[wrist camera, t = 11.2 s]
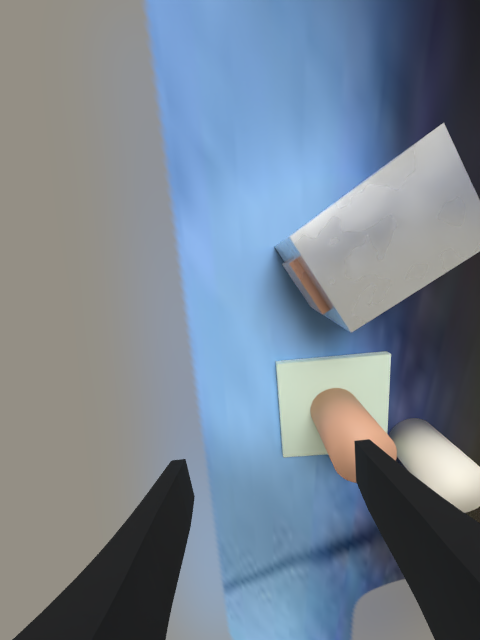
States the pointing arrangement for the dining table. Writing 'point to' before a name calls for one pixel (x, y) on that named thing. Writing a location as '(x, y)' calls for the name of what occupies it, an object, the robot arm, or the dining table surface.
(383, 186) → the block
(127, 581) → the robot arm
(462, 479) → the ivory peg
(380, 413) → the pad
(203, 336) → the dining table surface
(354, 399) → the terracotta peg
